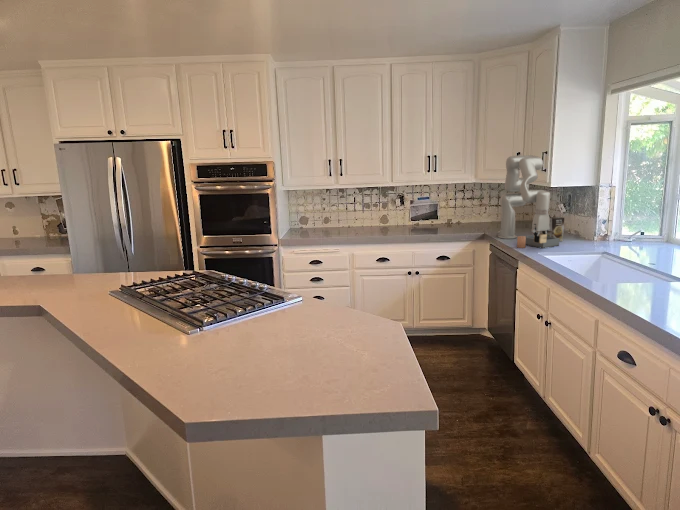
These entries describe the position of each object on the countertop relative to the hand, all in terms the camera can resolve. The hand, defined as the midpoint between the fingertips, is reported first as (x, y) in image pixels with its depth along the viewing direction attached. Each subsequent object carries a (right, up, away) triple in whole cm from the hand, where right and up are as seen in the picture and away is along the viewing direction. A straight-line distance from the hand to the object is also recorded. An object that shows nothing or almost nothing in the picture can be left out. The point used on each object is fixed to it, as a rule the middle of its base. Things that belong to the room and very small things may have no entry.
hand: (540, 241), depth 276 cm
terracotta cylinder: (-6, -3, +13) cm, 15 cm away
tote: (+8, -2, +18) cm, 19 cm away
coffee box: (+22, +1, +29) cm, 36 cm away
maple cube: (0, -1, 0) cm, 1 cm away
